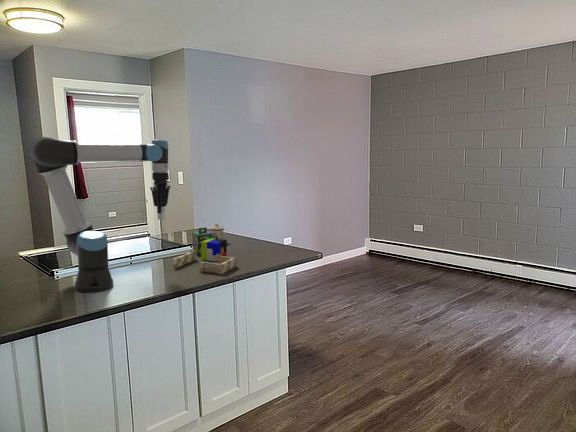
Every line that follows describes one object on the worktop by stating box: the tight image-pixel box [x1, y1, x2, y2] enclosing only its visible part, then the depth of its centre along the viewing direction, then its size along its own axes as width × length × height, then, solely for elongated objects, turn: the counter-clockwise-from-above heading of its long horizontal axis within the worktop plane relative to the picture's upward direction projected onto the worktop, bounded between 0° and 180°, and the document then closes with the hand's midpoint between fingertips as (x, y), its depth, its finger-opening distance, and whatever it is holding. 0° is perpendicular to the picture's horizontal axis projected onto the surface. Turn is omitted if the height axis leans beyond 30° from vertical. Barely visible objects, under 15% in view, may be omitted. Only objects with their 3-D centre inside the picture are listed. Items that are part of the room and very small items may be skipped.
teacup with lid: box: [209, 223, 227, 240], centre depth 274 cm, size 12×9×12 cm
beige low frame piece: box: [172, 249, 237, 275], centre depth 220 cm, size 18×27×5 cm
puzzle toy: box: [200, 238, 228, 262], centre depth 236 cm, size 10×10×10 cm
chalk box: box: [191, 226, 212, 255], centre depth 247 cm, size 9×9×15 cm
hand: (160, 219), depth 214 cm, fingers closed
